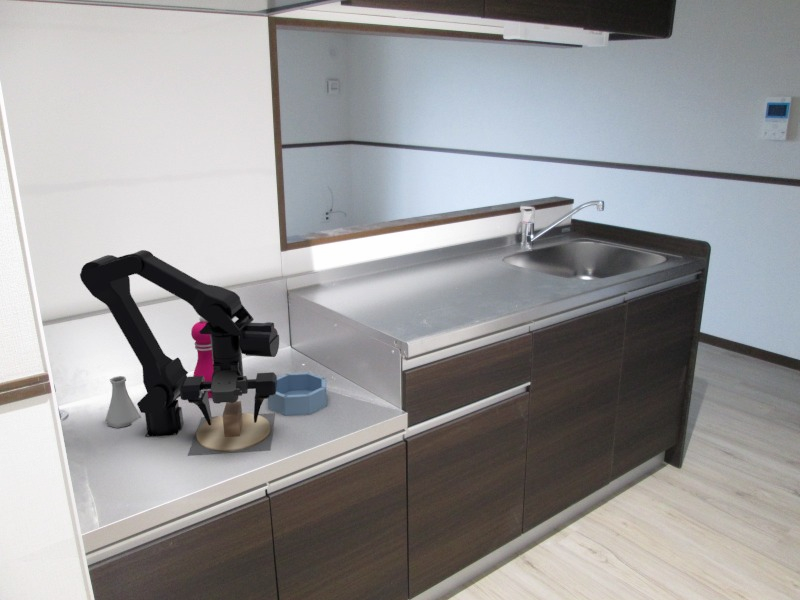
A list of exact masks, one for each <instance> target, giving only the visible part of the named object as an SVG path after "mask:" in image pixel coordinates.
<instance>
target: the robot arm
mask: <svg viewBox="0 0 800 600" xmlns="http://www.w3.org/2000/svg"><path fill="white" fill-rule="evenodd" d="M133 275H138V276H139V277H142V278H143V279H145V280H147V281H149V282H151V283H153V284H154V285H156V286H157V287H160V288H161V289H163V290H165V291H166V292H168V293H169V294H172V295H174V296H175V297H177V298H179V299H181V300H182V301H185V302H186V303H187V304H188V305H190V306H191V307H192V308H193V309H194V312H196V314H197V315H198V316H201V317H202V318H203V319H205V320H206V321H207V323H206V325H205V326H204V327H203V328H202V329H201V330H200V331H199V333H200V334H210V336H211V347H212V358H213V374H212V381H210V382H205V378H204V376H188V374H189V372H188V371H187V370H186V369H185V368H184V366H183V363H182V361H181V359H180V358H179V357H176V358H174V359H172V358H170V357H169V356H167V355H166V353H165V352H164V351H163V349H162V347H161V346H160V344H159V342H158V341H157V338H156V337H155V335H154V333H153V331H152V329H151V328H150V326H149V324H148V323H147V321H146V319H145V317H144V316H143V314H142V312H141V310H140V308H139V307H138V305H137V303H136V301H135V299H134V298H133V296H132V294H131V282H130V281H131V280H130V276H133ZM79 276H80V277H79V278H80V281H81V282H82V284H83V285H84V287H85V288H86V289H87V290H88V291H89V293H90V294H91V295H92V296H93V297H94V298H95V299H97V300H98V301H100V302H101V303H103V304H105V305H106V307H108V308H107V309H109V311H110V313H111V315H112V316H113V318H114V320H115V322H116V324H117V326H118V327H119V329H120V331H121V332H122V334H123V336H124V337H125V340H126V341H127V342H128V344H129V345H130V348H131V350H132V352H133V353H134V355H135V356H136V358H137V360H138V361H139V363H140V365H141V367H142V382H143V385H144V388H145V390H146V394H145V395H144V396H143V397H142V398H141V399H140V400H139V401H138V402H137V403H136V405H137V408H139V409H138V410H139V411H140V413H142V414H143V413H144V416H145V423H146V433H145V438H152V437H167V436H170V437H171V436H177V435H178V434H179V432H180V430H182V428H183V425H184V417H183V416H184V415H183V409H182V406H180V405H179V400H178V399H179V398H180V400H182V401H188V403H190V404H195V406H197V407H198V408H199V410H200V412H201V413H202V415H203V417H205V419H206V421H207V423H208V424H209V425H211V424H212V417H213V416H212V410H211V405H210V398H208V391H211V394H212V398H211V399H212V402H213V404H222V403H226V402H230V403H234V402H236V401H239V397H240V396H243V395H245V394H248V390H249V389H250V390H253V389H255V393H254V407H253V408H254V409H253V414H254V423H256V422H257V418H258V414H260V409H261V407H262V405H263V402H264V401H265V400H266V399H267V400H268V398H269V397H270V395H274V394H276V387H277V378H278V377H277V374H276V373H275V372H274V371H273V372H257V373H256V378H253V379H252V378H251V379H248V377H247V375H244V369H243V368H244V367H243V366H244V365H243V356H242V354H243V355H245V356H247V357H261V358H262V357H263V358H264V357H265V358H266V357H267V358H275V357H276V356H277V355H278V352H279V348H280V334H279V332H278V330H277V329H276V328H275V323H274V322H268V321H267V322H253V321H254V317H253V316H252V315H251V314H250V313H249V311H248V310H247V309H246V308H245V307H244V305H243V304H242V301H241V297H240V296H239V294H238V293H236V292H235V291H233V290H230V289H228V288H225V287H222V286H219V285H212V284H207V283H204V282H201V281H200V280H198V279H197V278H194V277H192V276H190V275H189V274H187V273H186V272H183V271H182V270H180V269H178V268H176V267H175V266H173V265H171V264H170V263H168V262H165V261H164V260H162V259H160V258H159V257H157V256H156V255H154V254H153V253H152V252H151V251H149V250H145V249H142V250H138V251H136V252H133V253H130V254H125V255H122V256H121V255H120V256H118V257H117V256H115V255H110V254H106V255H104V256H100V257H99V258H96V259H94V260H92V261H89V262H87V263H85V264H84V265H82V268H81V271H80V272H79ZM234 318H237V320H235V321H234Z"/></svg>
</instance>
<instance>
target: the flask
mask: <svg viewBox="0 0 800 600" xmlns="http://www.w3.org/2000/svg"><path fill="white" fill-rule="evenodd" d="M109 381H110V384H111V387H112V389H111V398H110V403H109V406H108V410H107V413H106V418H105V422H106V425H107V426H108V427H113V428H117V429H119V428H124V427H127V426H131V425H132V424H133V423H134V422H136V421H137V420H139V419H140V418H142V417H141V414H140V413H139V411H138V409H137V408H136V406H135V404H134V402H133V400H132V398H131V397H130V395H129V393H128V392H129V391H128V390H127V387H126V385H127V384H126V381H127V378H126V376H124V375H123V376H122V375H118V376H114V377H111V378H109Z"/></svg>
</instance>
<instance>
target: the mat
mask: <svg viewBox="0 0 800 600" xmlns="http://www.w3.org/2000/svg"><path fill="white" fill-rule="evenodd" d="M258 415H260V416H262V417H264V418H266V419H267V420H268V421H269V423H270V434H269V435H268V437H267V438H266V439H265V440H263V441H262V442H260V443H259V444H257V445H255V446H252V447H250V448H246V449H243V450H237V451H228V452H221V451H213V450H209V449H206V448H204V447H202V446H201V445H200V444H199V443H198V441H197V431H198V429H199V428H200V427H201V426H202V425H203V424H204V423H206V422H207V421H206V419H205V417H204V416H203V417H201V418H200V420H199V423H198V426H197V428H196V431H195V434H194V436H193V440H192V443H191V446H190V448H189V451H188V453H187V457H189V456H190V457H191V456H206V455H219V454H220V455H221V454H235V453H237V454H239V453H250V452H251V453H252V452H266V451H267V452H268V451H271V450H272V449H271V447H272V441H273V434H274V433H273V432H274V426H275V420H276V419H275V418H276V412H272V413H271V412H270V413H269V412H267V413H259V414H258ZM219 416H220V415H219ZM219 416H211V417H212V419H214V418H216V417H219Z"/></svg>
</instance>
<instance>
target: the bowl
mask: <svg viewBox="0 0 800 600" xmlns="http://www.w3.org/2000/svg"><path fill="white" fill-rule="evenodd" d="M267 401H268V410H270V411H273V412H274V413H277V414H280V415H283V416H285V417H287V416H290V417H291V416H305V415H312V414H313V413H316V412H317V411H319V410H321V409H323V408H325V407H327V406H328V403H327V402H328V399H327V377H324V376H321V375H318V374H316V373H312V372H295V373H293V372H291V373H284V374H283V375H280V376H278V377H277V387H276V394H274V395H270V397H269V398H267Z"/></svg>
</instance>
